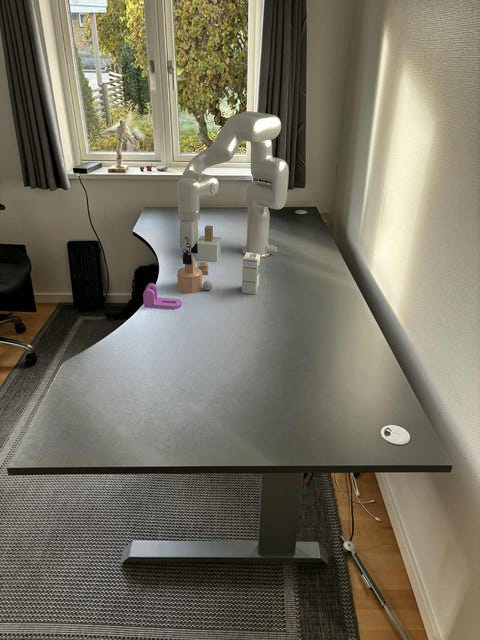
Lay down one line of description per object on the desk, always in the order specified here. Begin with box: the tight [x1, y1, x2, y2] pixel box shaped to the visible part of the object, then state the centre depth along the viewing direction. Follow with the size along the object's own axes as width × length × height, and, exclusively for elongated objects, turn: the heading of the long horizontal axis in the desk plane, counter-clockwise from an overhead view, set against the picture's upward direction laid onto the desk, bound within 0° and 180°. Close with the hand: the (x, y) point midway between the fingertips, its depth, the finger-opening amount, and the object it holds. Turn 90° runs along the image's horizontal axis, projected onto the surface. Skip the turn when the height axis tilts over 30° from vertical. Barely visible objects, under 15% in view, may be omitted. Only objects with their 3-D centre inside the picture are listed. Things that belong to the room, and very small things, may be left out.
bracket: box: [142, 282, 183, 310], centre depth 174 cm, size 13×6×7 cm, turn 86°
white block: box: [196, 224, 222, 263], centre depth 209 cm, size 9×9×14 cm
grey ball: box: [202, 280, 213, 291], centre depth 186 cm, size 4×4×4 cm
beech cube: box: [197, 261, 209, 276], centre depth 198 cm, size 4×4×4 cm
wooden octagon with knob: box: [176, 255, 203, 294], centre depth 184 cm, size 9×9×13 cm
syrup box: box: [241, 252, 261, 295], centre depth 184 cm, size 6×6×14 cm
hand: (190, 258), depth 182 cm, fingers open, 9 cm apart
